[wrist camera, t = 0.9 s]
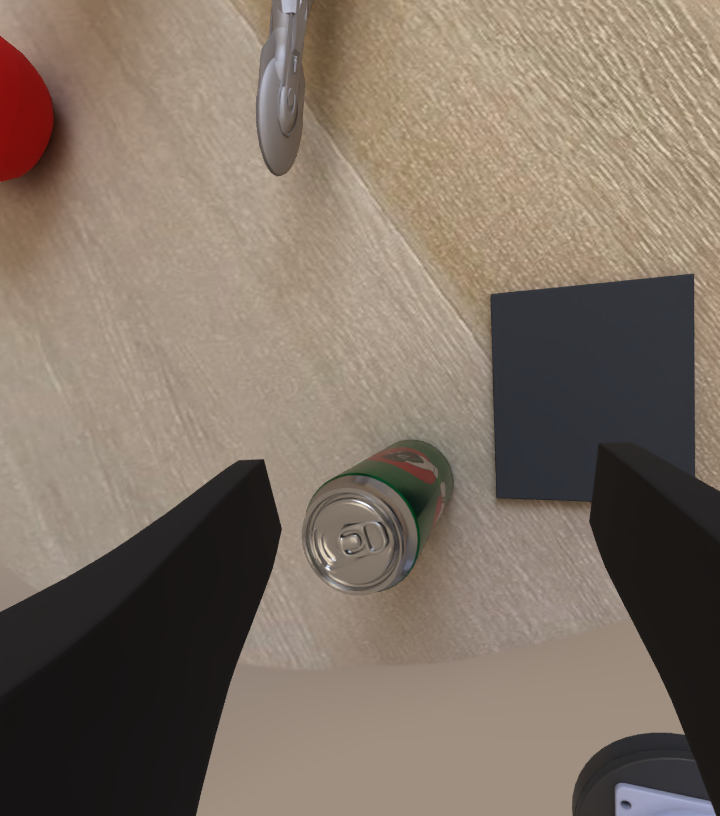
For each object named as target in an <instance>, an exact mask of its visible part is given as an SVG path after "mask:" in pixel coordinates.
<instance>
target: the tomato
mask: <svg viewBox="0 0 720 816" xmlns="http://www.w3.org/2000/svg"><path fill="white" fill-rule="evenodd" d="M53 117H54V116H53V108H52V99H51V96H50V94H49V91H48V89H47V87H46V85H45V83H44V81H43V79H42V77H41V76H40V75H39V73H38V72H37V70H36V69H35V68H34V67H33V65H32V64H31V63H30V62H29V61H28V59H27V58H26V57H25V56H24V55H23V54H22V53H21V52H20V51H19V50H17V49H16V48H15V47H14V46H12V45H11V44H10V43H9V42H7V41H6V40H5V39H4V38H2V37H1V36H0V182H3V181H6V180H10V179H14V178H18V177H21V176H22V175H24V174H25V173H27V172H28V171H29V170H30V169H31V168H32V167H33V166H34V165H35V164H36V163H37V162H38V161H39V159H40V158H41V156H42V155H43V153H44V151H45V149H46V147H47V144H48V142H49V140H50V137H51V134H52V129H53Z"/></svg>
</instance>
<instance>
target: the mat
mask: <svg viewBox="0 0 720 816" xmlns="http://www.w3.org/2000/svg"><path fill="white" fill-rule="evenodd" d="M491 323H492V358H493V393H494V428H495V462H496V497H497V498H510V499H536V500H563V501H590V502H592V495H593V486H594V478H595V470H596V461H597V453H598V445H599V443H614V442H632V443H635V444H637V445H639V446H641V447H643V448H644V449H646V450H648V451H650V452H652V453H653V454H655V455H657V456H659V457H661V458H662V459H664V460H666V461H667V462H669V463H671V464H673V465H674V466H676V467H678V468H680V469H681V470H683V471H685V472H686V473H688V474H690V475H692V476H693V477H695V397H694V274H687V275H677V276H667V277H657V278H647V279H637V280H627V281H617V282H607V283H597V284H587V285H578V286H568V287H558V288H548V289H538V290H528V291H518V292H508V293H498V294H491Z"/></svg>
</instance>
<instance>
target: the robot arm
mask: <svg viewBox="0 0 720 816" xmlns="http://www.w3.org/2000/svg"><path fill="white" fill-rule="evenodd" d="M589 522H590V525H591V528H592V531H593V534H594V537H595V540H596V543H597V546H598V549H599V552H600V554H601V557H602V560H603V563H604V565H605V568H606V570H607V572H608V574H609V576H610V578H611V580H612V582H613V584H614V586H615V588H616V590H617V592H618V594H619V596H620V598H621V600H622V602H623V604H624V606H625V608H626V609H627V611H628V613H629V615H630V617H631V619H632V621H633V623H634V625H635V627H636V629H637V631H638V633H639V635H640V637H641V639H642V641H643V643H644V645H645V646H646V649H647V651H648V652H649V654H650V656H651V658H652V660H653V662H654V664H655V666H656V668H657V670H658V672H659V674H660V676H661V679H662V681H663V683H664V685H665V687H666V689H667V692H668V693H669V696H670V698H671V700H672V703H673V705H674V708H675V710H676V713H677V715H678V718H679V720H680V723H681V725H682V728H683V731H684V733H685V736H686V738H687V741H688V743H689V746H690V748H691V751H692V753H693V756H694V758H695V761H696V764H697V766H698V769H699V772H700V774H701V777H702V780H703V782H704V785H705V788H706V790H707V793H708V796H709V798H710V801H708V800H703V799H698V798H694V797H689V796H684V795H679V794H675V793H670V792H665V791H660V790H656V789H651V788H646V787H642V786H637V785H632V784H627V783H618V784H617V785H616V786H615V789H614V793H615V816H720V491H718V490H716V489H714V488H713V487H711V486H709V485H707V484H706V483H704V482H702V481H700V480H699V479H697V478H695V477H693V476H692V475H690V474H688V473H686V472H685V471H683V470H681V469H680V468H678V467H676V466H674V465H673V464H671V463H669V462H667V461H666V460H664V459H662V458H661V457H659V456H657V455H655V454H653V453H652V452H650V451H648V450H646V449H644V448H643V447H641V446H639V445H637V444H635V443H632V442H614V443H599V445H598V453H597V461H596V470H595V478H594V486H593V495H592V503H591V511H590V520H589ZM281 530H282V528H281V524H280V520H279V516H278V512H277V508H276V505H275V501H274V497H273V493H272V489H271V485H270V481H269V478H268V474H267V470H266V466H265V462H264V459H260V460H239V461H237V462H236V463H234V464H232V465H231V466H229V467H228V468H226V469H225V470H224V471H222V472H221V473H220V474H218V475H217V476H215V477H214V478H213V479H211V480H210V481H209V482H207V483H206V484H205V485H204V486H202V487H201V488H200V489H198V490H197V491H196V492H194V493H193V494H192V495H190V496H189V497H188V498H186V499H185V500H184V501H182V502H181V503H180V504H178V505H177V506H176V507H174V508H173V509H172V510H170V511H169V512H168V513H166V514H165V515H163V516H162V517H160V518H159V519H158V520H156V521H155V522H153V523H152V524H150V525H149V526H148V527H146V528H145V529H143V530H142V531H140V532H139V533H137V534H136V535H135V536H133V537H132V538H130V539H129V540H127V541H126V542H124V543H123V544H121V545H120V546H118V547H117V548H115V549H114V550H112V551H110V552H109V553H107V554H106V555H104V556H102V557H101V558H99V559H97V560H96V561H94V562H92V563H91V564H89V565H87V566H86V567H84V568H82V569H81V570H79V571H77V572H75V573H74V574H72V575H70V576H68V577H67V578H65V579H63V580H61V581H59V582H57V583H56V584H54V585H52V586H50V587H48V588H46V589H44V590H42V591H40V592H38V593H36V594H34V595H32V596H31V597H29V598H27V599H25V600H23V601H21V602H19V603H17V604H15V605H13V606H11V607H9V608H8V609H6V610H3V611H2V612H0V816H196V813H197V808H198V804H199V800H200V795H201V791H202V787H203V783H204V779H205V775H206V771H207V767H208V763H209V759H210V755H211V751H212V747H213V743H214V739H215V735H216V732H217V728H218V724H219V721H220V717H221V714H222V710H223V706H224V703H225V699H226V695H227V691H228V688H229V685H230V681H231V679H232V676H233V673H234V670H235V667H236V664H237V661H238V659H239V656H240V653H241V651H242V648H243V646H244V643H245V640H246V638H247V635H248V633H249V630H250V627H251V625H252V622H253V619H254V617H255V614H256V612H257V609H258V606H259V604H260V601H261V599H262V596H263V593H264V591H265V588H266V585H267V583H268V580H269V577H270V574H271V572H272V569H273V565H274V561H275V557H276V553H277V548H278V544H279V539H280V535H281ZM622 801H628V802H629V803H622Z"/></svg>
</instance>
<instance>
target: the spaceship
mask: <svg viewBox="0 0 720 816" xmlns="http://www.w3.org/2000/svg"><path fill="white" fill-rule="evenodd" d="M313 1H314V0H272V10H271V20H270V32H269V38H268V40H267V41H266V43H265V45H264V46H263V48H262V51H261V57H260V69H259V82H258V91H257V98H256V124H257V133H258V140H259V146H260V149H261V153H262V156H263V159H264V162H265V164H266V165H267V167H268V169H269V170H270V172H271V173H272V174H274V175H276V176H281V175H284V174H285V173H287V172H288V171H289V170H290V168H291V167H292V165H293V163H294V161H295V158H296V156H297V153H298V149H299V145H300V140H301V135H302V127H303V107H304V94H305V77H304V72H303V67H302V55H303V45H304V35H305V30H306V25H307V19H308V16H309V13H310V10H311V7H312V4H313Z"/></svg>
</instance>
